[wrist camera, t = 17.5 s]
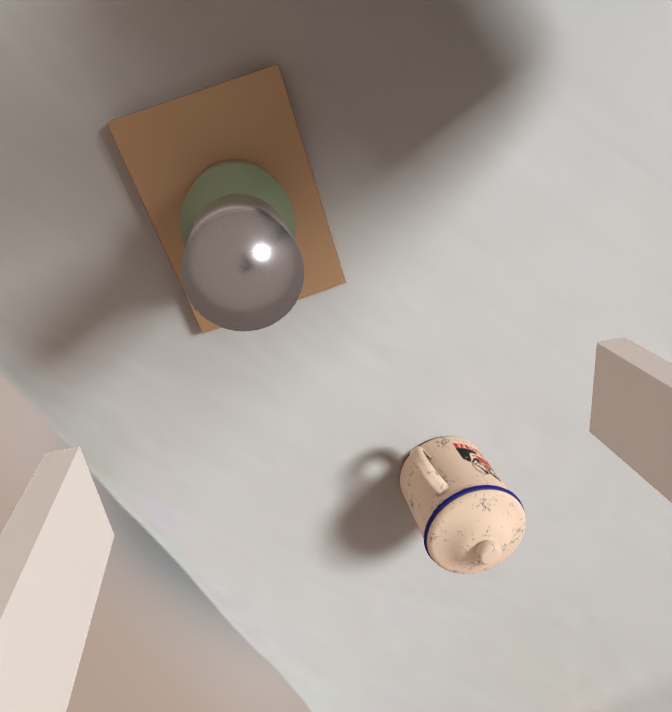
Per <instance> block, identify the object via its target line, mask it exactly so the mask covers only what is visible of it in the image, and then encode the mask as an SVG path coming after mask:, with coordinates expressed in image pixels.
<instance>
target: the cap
mask: <svg viewBox="0 0 672 712" xmlns="http://www.w3.org/2000/svg"><path fill="white" fill-rule="evenodd" d="M181 279H182V284H183V288H184V290H185V293H186V296H187V297H188V299H189V301H190V303H191V304H192V305H193V307H194V308H195V309H196V310H197V311H198V312H199V313H200V314H201V315H202V316H203V317H204V318H206V319H207V320H208V321H210V322H212V323H213V324H215V325H218V326H220V327H223V328H226V329H230V330H235V331H252V330H258V329H262V328H265V327H267V326H270V325H272V324H274V323H275V322H277V321H279V320H280V319H281V318H283V317H284V316H285V315H286V314H287V313H288V312H289V311H290V310H291V309H292V307H293V306H294V305H295V303H296V301H297V299H298V298H299V295H300V293H301V290H302V286H303V281H304V265H303V260H302V256H301V253H300V250H299V248H298V246H297V244H296V242H295V240H294V239H293V237H292V235H291V233H290V231H289V229H288V227H287V226H286V224H285V222H284V220H283V219H282V217H281V215H280V214H279V213H278V212H277V211H276V210H275V209H274V208H273V207H272V206H271V205H270V204H268V203H267V202H265V201H264V200H262V199H260V198H257V197H255V196H251V195H246V194H231V195H226V196H222V197H220V198H218V199H215V200H214V201H212V202H211V203H209V204H208V205H207V206H206V207H204V208H203V210H202V211H201V212H200V213H199V215H198V216H197V218H196V220H195V222H194V224H193V227H192V230H191V233H190V236H189V239H188V242H187V245H186V248H185V251H184V254H183V257H182V262H181Z"/></svg>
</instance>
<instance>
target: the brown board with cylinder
mask: <svg viewBox="0 0 672 712" xmlns="http://www.w3.org/2000/svg"><path fill="white" fill-rule="evenodd" d="M106 123H107V125H108V127H109V129H110V131H111V134H112V136H113V138H114V140H115V142H116V144H117V147H118V149H119V151H120V153H121V155H122V158H123V160H124V162H125V164H126V166H127V168H128V171H129V173H130V175H131V177H132V179H133V182H134V184H135V186H136V188H137V190H138V193H139V195H140V197H141V199H142V201H143V203H144V206H145V208H146V210H147V212H148V214H149V217H150V219H151V221H152V223H153V225H154V228H155V230H156V232H157V234H158V236H159V238H160V241H161V243H162V245H163V247H164V249H165V252H166V254H167V256H168V258H169V260H170V263H171V265H172V267H173V269H174V271H175V273H176V276H177V278H178V280H179V282H180V284H181V287H182V289H183V291H184V293H185V290H184V288H183V284H182V279H181V262H182V257H183V254H184V251H185V248H186V245H187V242H188V239H189V236H190V233H191V230H192V227H193V224H194V222H195V220H196V218H197V216H198V215H199V213H200V212H201V211H202V210H203V208H204V207H206V206H207V205H208V204H209V203H211V202H212V201H214V200H215V199H218V198H220V197H222V196H226V195H231V194H246V195H251V196H255V197H257V198H260V199H262V200H264V201H265V202H267V203H268V204H270V205H271V206H272V207H273V208H274V209H275V210H276V211H277V212H278V213H279V214H280V215H281V217H282V219H283V220H284V222H285V224H286V226H287V227H288V229H289V231H290V233H291V235H292V237H293V239H294V240H295V242H296V244H297V246H298V248H299V250H300V253H301V256H302V260H303V265H304V281H303V286H302V290H301V293H300V295H299V298H298V299H301V298H304V297H307V296H309V295H312V294H315V293H318V292H321V291H323V290H326V289H329V288H332V287H335V286H337V285H340V284H343V283H346V281H345V278H344V274H343V271H342V268H341V265H340V262H339V258H338V255H337V252H336V249H335V246H334V242H333V239H332V236H331V233H330V230H329V226H328V223H327V220H326V217H325V213H324V210H323V207H322V204H321V201H320V197H319V194H318V191H317V188H316V185H315V181H314V178H313V175H312V172H311V169H310V165H309V162H308V159H307V156H306V152H305V149H304V146H303V143H302V140H301V136H300V133H299V130H298V127H297V124H296V120H295V117H294V114H293V111H292V108H291V104H290V101H289V98H288V95H287V91H286V88H285V85H284V82H283V79H282V75H281V72H280V69H279V66H278V64H277V65H274V66H271V67H268V68H265V69H262V70H259V71H256V72H253V73H250V74H247V75H244V76H241V77H238V78H235V79H232V80H230V81H227V82H224V83H221V84H218V85H215V86H212V87H209V88H206V89H203V90H200V91H197V92H194V93H191V94H188V95H185V96H182V97H179V98H176V99H174V100H171V101H168V102H165V103H162V104H159V105H156V106H153V107H150V108H147V109H144V110H141V111H138V112H135V113H132V114H129V115H126V116H123V117H121V118H118V119H115V120H112V121H109V122H106ZM185 295H186V293H185ZM186 298H187V300H188V302H189V304H190V306H191V308H192V311H193V313H194V315H195V317H196V319H197V322H198V324H199V326H200V328H201V330H202V332H203V333H206V332H209V331H211V330H214V329H217V328H220V326H218V325H215V324H213V323H212V322H210V321H208V320H207V319H206V318H204V317H203V316H202V315H201V314H200V313H199V312H198V311H197V310H196V309H195V308H194V307H193V305H192V304H191V303H190V301H189V299H188V297H187V296H186ZM298 299H297V300H298Z"/></svg>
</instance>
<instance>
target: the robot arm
mask: <svg viewBox="0 0 672 712" xmlns="http://www.w3.org/2000/svg"><path fill="white" fill-rule="evenodd" d="M590 432H591V433H592V434H593V435H594V436H595V437H597V438H598V439H599V440H600V441H601V442H602V443H603V444H605V445H606V446H607V447H608V448H609V449H610V450H612V451H613V452H614V453H615V454H616V455H617V456H618V457H620V458H621V459H622V460H623V461H624V462H625V463H627V464H628V465H629V466H630V467H631V468H632V469H633V470H635V471H636V472H637V473H638V474H639V475H640V476H642V477H643V478H644V479H645V480H646V481H647V482H648V483H650V484H651V485H652V486H653V487H654V488H655V489H657V490H658V491H659V492H660V493H661V494H662V495H663V496H665V497H666V498H667V499H668V500H669V501H670V502H672V363H670V362H668V361H666V360H664V359H663V358H661V357H659V356H657V355H655V354H654V353H652V352H650V351H648V350H646V349H645V348H643V347H641V346H639V345H637V344H635V343H634V342H632V341H630V340H628V339H626V338H625V337H622V338H617V339H612V340H607V341H602V342H597V349H596V361H595V372H594V384H593V396H592V407H591V419H590ZM113 538H114V533H113V531H112V528H111V526H110V523H109V521H108V518H107V516H106V513H105V511H104V508H103V505H102V503H101V500H100V498H99V495H98V492H97V490H96V487H95V485H94V482H93V480H92V477H91V474H90V472H89V469H88V467H87V464H86V462H85V459H84V456H83V454H82V451H81V449H80V446H77V447H72V448H67V449H62V450H57V451H51V452H46V453H45V454H44V456H43V458H42V460H41V462H40V464H39V465H38V467H37V469H36V471H35V473H34V475H33V476H32V478H31V480H30V482H29V484H28V485H27V487H26V489H25V491H24V493H23V495H22V496H21V498H20V500H19V502H18V504H17V505H16V507H15V509H14V511H13V513H12V515H11V517H10V518H9V520H8V522H7V524H6V526H5V527H4V529H3V531H2V533H1V535H0V712H66V710H67V706H68V703H69V699H70V695H71V691H72V688H73V684H74V680H75V677H76V673H77V670H78V666H79V662H80V659H81V655H82V651H83V648H84V644H85V640H86V637H87V633H88V630H89V626H90V622H91V618H92V615H93V611H94V608H95V604H96V601H97V597H98V593H99V590H100V586H101V582H102V578H103V575H104V571H105V567H106V564H107V560H108V557H109V553H110V549H111V546H112V542H113Z"/></svg>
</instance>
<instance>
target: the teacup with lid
mask: <svg viewBox="0 0 672 712" xmlns="http://www.w3.org/2000/svg"><path fill="white" fill-rule="evenodd" d="M400 487H401V490H402V493H403V495H404V497H405V499H406V501H407V504H408V506H409V508H410V510H411V512H412V514H413V516H414V519H415V521H416V523H417V525H418V527H419V529H420V532H421V534H422V536H423V538H424V545H425V549H426V551H427V553H428V555H429V556H430V558H431V559H432V560H433V561H434V562H435V563H436V564H438V565H439V566H440V567H442V568H444V569H446V570H448V571H450V572H454V573H461V574H470V573H477V572H481V571H484V570H487V569H490V568H492V567H494V566H496V565H498V564H499V563H501V562H502V561H504V560H505V559H506V558H507V557H508V556H510V555H511V554H512V553H513V551H514V550H515V549H516V548H517V546H518V545H519V543H520V541H521V539H522V537H523V534H524V531H525V525H526V518H525V512H524V508H523V505H522V503H521V502H520V500H519V499H518V497H517V496H516V495H515V494H513V493H512V492H511V491H509V490H508V489H507V488H506V486H505V485H504V484H503V482H502V481H501V480H500V478H499V477H498V476H497V474H496V473H495V472H494V470H493V469H492V468H491V466H490V465H489V464H488V462H487V461H486V460H485V458H484V457H483V456H482V454H481V453H480V452H479V450H478V449H477V448H476V447H475V446H474V445H473V444H472V443H470V442H469V441H467V440H465V439H462V438H459V437H452V436H447V437H439V438H435V439H432V440H430V441H428V442H425V443H424V444H422V445H420V446H417V447H415V448H414V449H412V450H411V451H410V455H409V457H408V458H407V459H406V461H405V463H404V465H403V467H402V470H401V474H400Z"/></svg>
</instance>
